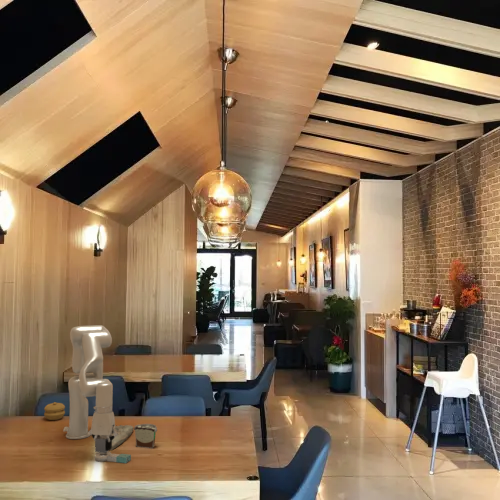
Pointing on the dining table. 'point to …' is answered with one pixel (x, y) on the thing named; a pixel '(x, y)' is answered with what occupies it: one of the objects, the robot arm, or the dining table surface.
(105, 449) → the brushed metal cube
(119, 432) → the elongated rock
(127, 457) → the ratchet
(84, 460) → the dining table surface
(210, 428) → the dining table surface
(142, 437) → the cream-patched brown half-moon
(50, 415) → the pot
